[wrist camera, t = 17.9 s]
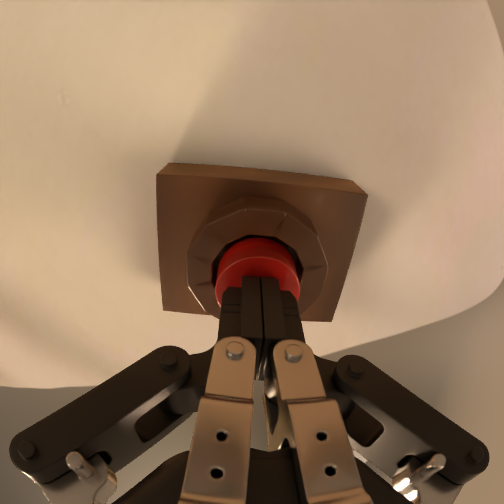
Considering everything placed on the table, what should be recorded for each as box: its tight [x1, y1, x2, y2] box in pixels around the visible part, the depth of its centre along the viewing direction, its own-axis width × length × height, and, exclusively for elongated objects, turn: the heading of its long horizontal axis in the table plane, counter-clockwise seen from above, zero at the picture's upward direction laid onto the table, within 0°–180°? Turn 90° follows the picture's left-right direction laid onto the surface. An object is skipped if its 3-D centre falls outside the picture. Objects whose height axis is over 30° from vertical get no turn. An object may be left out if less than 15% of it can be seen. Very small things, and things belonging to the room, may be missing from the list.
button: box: [215, 237, 300, 307], centre depth 14 cm, size 4×4×2 cm
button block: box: [156, 163, 368, 322], centre depth 16 cm, size 10×8×4 cm
